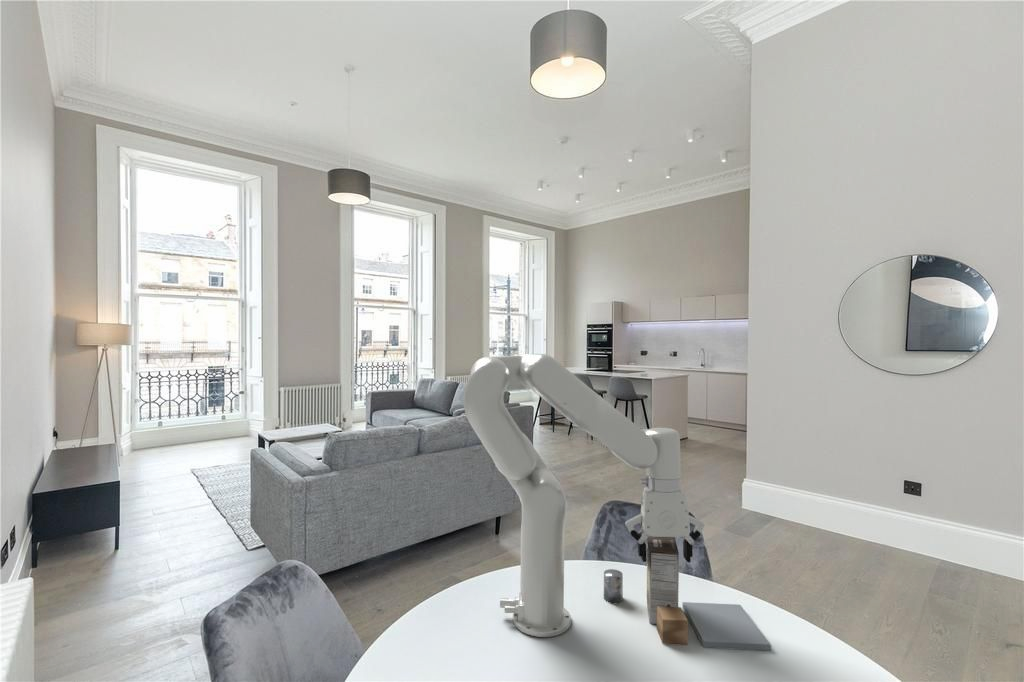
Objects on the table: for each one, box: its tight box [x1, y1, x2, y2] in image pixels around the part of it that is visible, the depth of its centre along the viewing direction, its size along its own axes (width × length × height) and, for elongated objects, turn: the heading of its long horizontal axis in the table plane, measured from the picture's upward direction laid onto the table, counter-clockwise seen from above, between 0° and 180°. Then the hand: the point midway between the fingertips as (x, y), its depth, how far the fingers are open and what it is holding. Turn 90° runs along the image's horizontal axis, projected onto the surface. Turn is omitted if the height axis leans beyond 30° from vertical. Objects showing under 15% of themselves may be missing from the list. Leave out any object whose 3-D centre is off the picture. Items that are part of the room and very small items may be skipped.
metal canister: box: [603, 568, 624, 604], centre depth 116 cm, size 4×4×6 cm
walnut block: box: [656, 606, 689, 646], centre depth 100 cm, size 5×5×5 cm
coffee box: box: [646, 537, 680, 625], centre depth 109 cm, size 9×6×16 cm
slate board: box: [682, 601, 772, 651], centre depth 104 cm, size 13×15×1 cm
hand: (665, 559), depth 109 cm, fingers open, 9 cm apart
